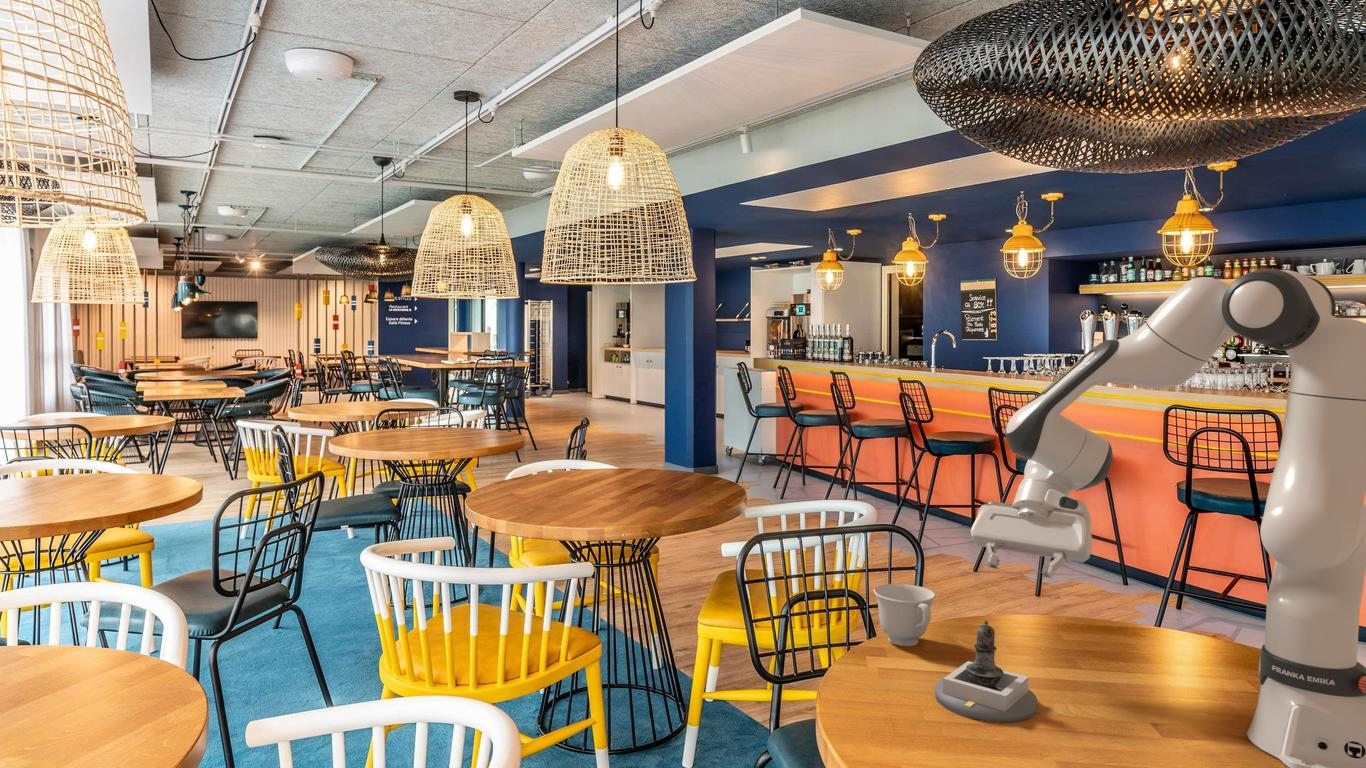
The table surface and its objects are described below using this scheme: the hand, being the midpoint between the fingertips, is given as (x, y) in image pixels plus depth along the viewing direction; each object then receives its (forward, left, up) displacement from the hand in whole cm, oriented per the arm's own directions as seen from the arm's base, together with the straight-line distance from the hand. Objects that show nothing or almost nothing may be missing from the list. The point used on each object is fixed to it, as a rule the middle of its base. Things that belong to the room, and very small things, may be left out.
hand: (1018, 571), depth 149 cm
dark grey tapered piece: (+1, +11, -19) cm, 22 cm away
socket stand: (+1, +11, -20) cm, 23 cm away
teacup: (+23, -5, -20) cm, 31 cm away
